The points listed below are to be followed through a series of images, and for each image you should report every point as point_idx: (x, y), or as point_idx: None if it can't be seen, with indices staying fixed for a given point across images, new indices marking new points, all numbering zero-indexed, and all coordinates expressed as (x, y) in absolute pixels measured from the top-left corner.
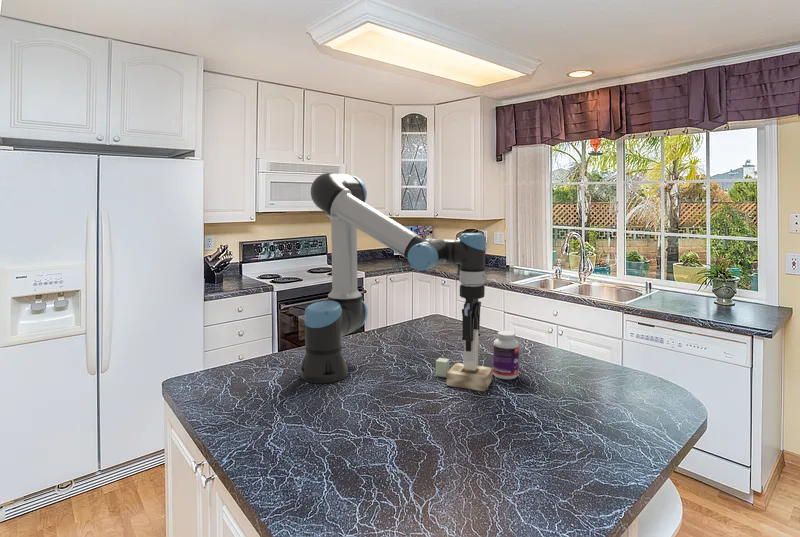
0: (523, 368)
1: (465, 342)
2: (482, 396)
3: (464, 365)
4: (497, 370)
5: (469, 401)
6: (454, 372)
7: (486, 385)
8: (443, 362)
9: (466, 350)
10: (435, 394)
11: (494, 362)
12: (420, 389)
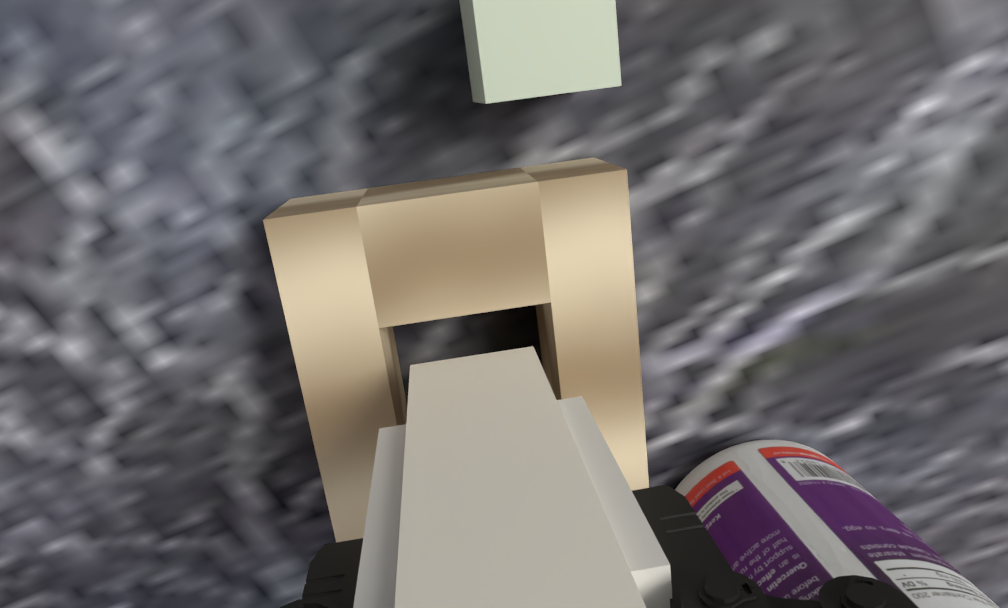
0: (967, 566)
1: (356, 602)
2: (258, 539)
3: (411, 387)
4: None
5: (103, 502)
6: (323, 288)
7: None
8: (479, 67)
9: (318, 564)
10: (29, 209)
11: (736, 541)
12: (29, 19)
